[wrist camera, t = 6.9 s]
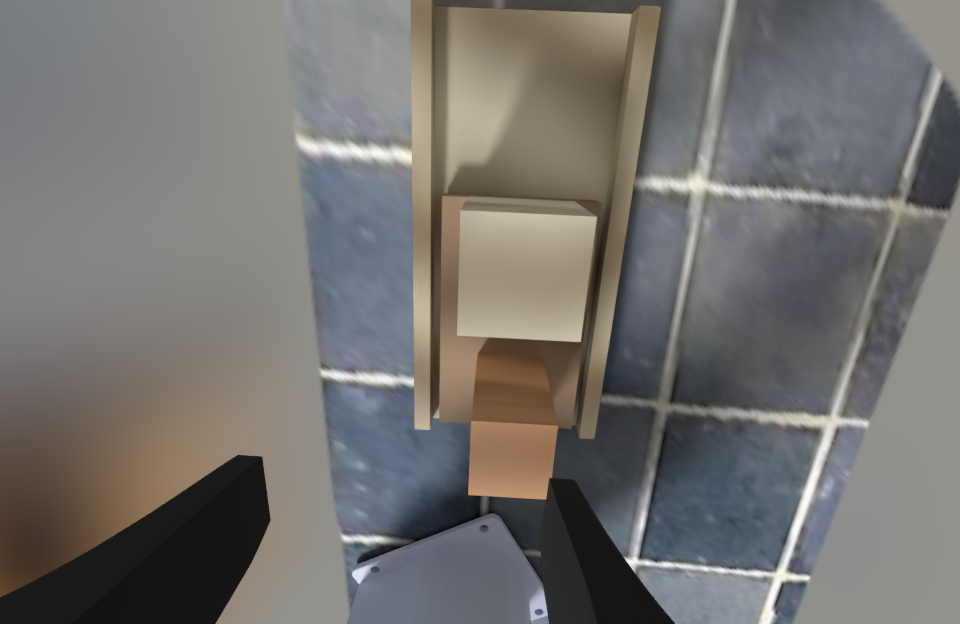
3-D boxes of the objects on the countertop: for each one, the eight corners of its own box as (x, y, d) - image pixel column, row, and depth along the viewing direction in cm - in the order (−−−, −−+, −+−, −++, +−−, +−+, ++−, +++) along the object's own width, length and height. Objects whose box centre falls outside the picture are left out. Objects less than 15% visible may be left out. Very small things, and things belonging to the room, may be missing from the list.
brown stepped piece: (568, 416, 21) (594, 513, 16) (441, 409, 21) (422, 503, 16) (595, 200, 18) (641, 224, 12) (444, 193, 18) (421, 214, 12)
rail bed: (588, 417, 22) (595, 439, 21) (419, 407, 23) (413, 429, 21) (645, 20, 17) (662, 6, 15) (417, 11, 17) (409, -4, 15)
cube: (563, 301, 18) (580, 342, 15) (465, 297, 18) (456, 335, 15) (574, 201, 17) (597, 216, 13) (468, 196, 17) (460, 210, 13)
